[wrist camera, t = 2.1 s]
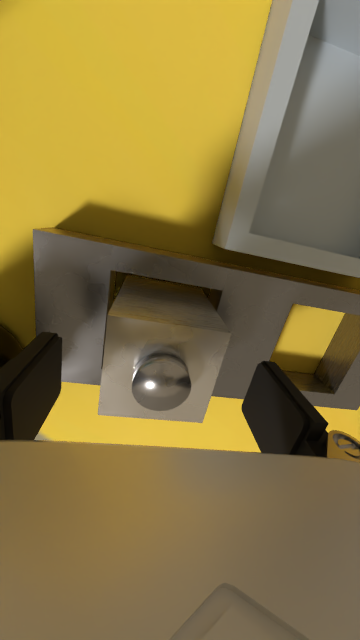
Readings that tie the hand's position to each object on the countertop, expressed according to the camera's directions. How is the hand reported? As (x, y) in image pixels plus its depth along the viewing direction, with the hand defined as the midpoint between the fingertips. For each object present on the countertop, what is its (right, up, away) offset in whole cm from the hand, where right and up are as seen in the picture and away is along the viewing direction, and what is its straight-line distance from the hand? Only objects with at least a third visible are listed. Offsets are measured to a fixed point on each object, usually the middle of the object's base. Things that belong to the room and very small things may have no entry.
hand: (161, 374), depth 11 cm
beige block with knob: (-1, +3, +6) cm, 6 cm away
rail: (+4, +2, +6) cm, 8 cm away
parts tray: (+9, +12, +3) cm, 15 cm away
